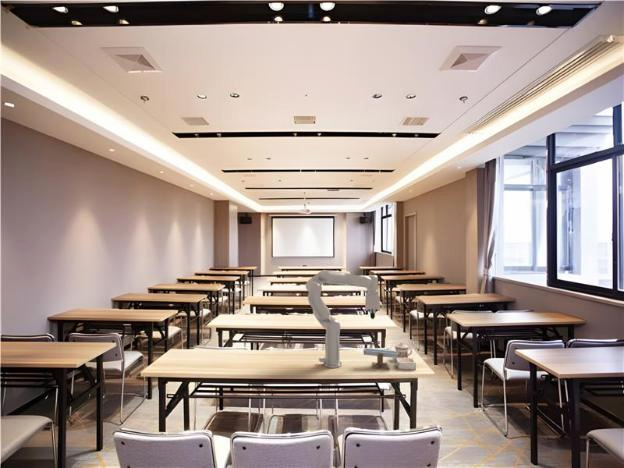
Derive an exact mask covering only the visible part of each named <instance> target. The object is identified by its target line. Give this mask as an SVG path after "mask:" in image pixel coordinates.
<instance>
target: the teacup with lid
mask: <svg viewBox="0 0 624 468" xmlns="http://www.w3.org/2000/svg"><path fill="white" fill-rule="evenodd" d="M394 348H395V351H396V353H397V358H409V356H411V355H412V354H413V350H412V348H410V347H409V346H408V345H407V344H404V342H403V341H402V342H400V343H398V344H396V345H395V347H394ZM409 351H410V352H409Z"/></svg>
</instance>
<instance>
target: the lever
mask: <svg viewBox="0 0 624 468" xmlns="http://www.w3.org/2000/svg"><path fill="white" fill-rule="evenodd" d="M362 353H363V355H364V356H373V357H377V356H378V354H383V358H384V357H385V358H393V359H396V358H397V353H396V350H392V349H379V348H378V349H376V348H368V347H364V348H363V351H362Z"/></svg>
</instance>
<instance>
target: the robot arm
mask: <svg viewBox="0 0 624 468" xmlns="http://www.w3.org/2000/svg"><path fill="white" fill-rule="evenodd" d="M378 279H379V277H378V275H376V274H370V275H364V274H360V275H357V274H351V273H348V272H341V271H334V270H326V269H323V270H321V271H319V272H318V273H316V274H314V275H313V276H312V277H311V278H309V280H308V281H307V282H306V283H305V289H306V290H307V292H308V294H307V300H308V304H309V305H310V306H311V308H312V313H313V315H314V317H315V319H316V320H317V322H318V323H319V324H320V326H321V327H322V328H323V329H324V330H325V331H326V332H325V341H324V342H325V346H324V347H325V352H324V353H325V356H324V357H323V358H321V357H319V358H318V362H321V363H323V364H322V365H323V366H324V367H325V368H329V369H333V368H334V369H336V368H340V367H341V366H342V361H340V335H341V333H340V332H341V324H340V322H339V320H338V319H337V318H335V317H333V316H332V315H331V310H330V309H329V307H328V306H327V305H326V304H325V302H324V301H323V299H322V297H321V294H322V293H321V292H322V289H323V287H322V286H323V285H324V284H331V285H340V286H350V287H359V288H366V290H365V291H364V292H365V293H364V294H365V300H364V302H365V304H364V305H365V307H364V310H365V311H367V312H369V314H370V318H371V320H375V318H376V313H377V312H379V311H381V299H380V295H379V284H378V283H379V280H378Z"/></svg>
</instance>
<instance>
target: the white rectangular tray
mask: <svg viewBox="0 0 624 468" xmlns="http://www.w3.org/2000/svg"><path fill="white" fill-rule="evenodd" d="M395 359H396V367H397V369H398V370H412V371H413V370H415V371H416V370H417V364H416V360H415V359H414V357H408V358H395ZM407 361H410V362H407Z"/></svg>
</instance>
